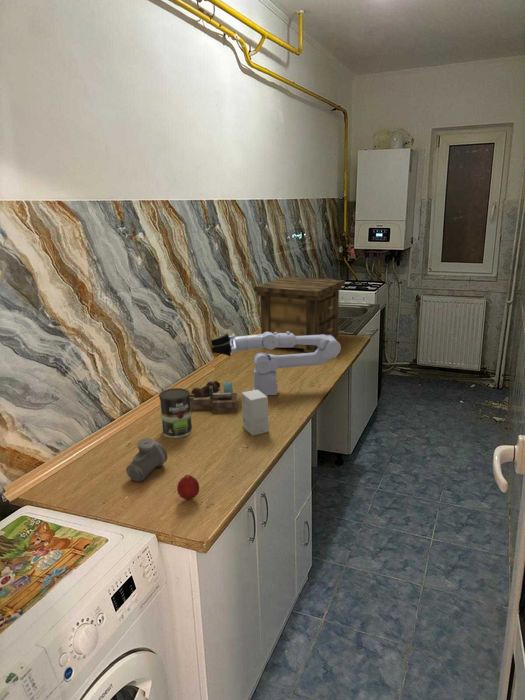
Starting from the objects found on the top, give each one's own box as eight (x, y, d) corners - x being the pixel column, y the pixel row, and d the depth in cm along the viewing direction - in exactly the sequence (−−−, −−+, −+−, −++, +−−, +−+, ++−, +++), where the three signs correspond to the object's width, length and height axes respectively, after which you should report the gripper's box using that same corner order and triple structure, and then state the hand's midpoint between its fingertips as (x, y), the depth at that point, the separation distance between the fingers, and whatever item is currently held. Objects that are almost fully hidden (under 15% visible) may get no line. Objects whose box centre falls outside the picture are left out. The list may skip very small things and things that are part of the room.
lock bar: (231, 395, 196) (231, 384, 195) (231, 398, 193) (230, 387, 192) (210, 396, 196) (209, 385, 194) (210, 399, 193) (209, 388, 191)
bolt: (219, 392, 215) (198, 404, 202) (210, 385, 217) (188, 396, 204) (224, 382, 212) (203, 393, 200) (215, 375, 214) (194, 385, 201)
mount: (237, 402, 200) (236, 389, 198) (237, 411, 191) (236, 398, 190) (190, 404, 199) (190, 391, 198) (188, 413, 191) (187, 400, 189)
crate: (286, 332, 297) (286, 276, 287) (343, 339, 280) (344, 280, 270) (255, 348, 268) (253, 286, 259) (317, 357, 251) (317, 291, 242)
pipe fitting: (147, 458, 158) (144, 430, 154) (169, 465, 155) (166, 437, 151) (122, 481, 148) (118, 453, 144) (145, 489, 145) (142, 460, 141)
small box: (269, 432, 175) (268, 396, 171) (252, 436, 172) (250, 400, 168) (258, 423, 182) (257, 388, 178) (242, 426, 179) (241, 392, 175)
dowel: (233, 395, 207) (232, 381, 205) (232, 398, 204) (232, 384, 202) (224, 395, 207) (223, 381, 205) (223, 399, 203) (223, 385, 202)
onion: (179, 494, 140) (176, 468, 137) (200, 493, 140) (198, 467, 138) (177, 507, 134) (175, 480, 132) (199, 505, 134) (197, 478, 132)
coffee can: (196, 433, 175) (194, 395, 171) (167, 440, 170) (164, 401, 166) (186, 422, 184) (183, 385, 179) (158, 429, 179) (155, 391, 175)
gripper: (243, 327, 208) (210, 330, 207) (246, 339, 194) (211, 343, 193) (245, 343, 210) (212, 347, 209) (248, 356, 197) (213, 360, 196)
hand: (211, 346), depth 201 cm, fingers open, 7 cm apart
